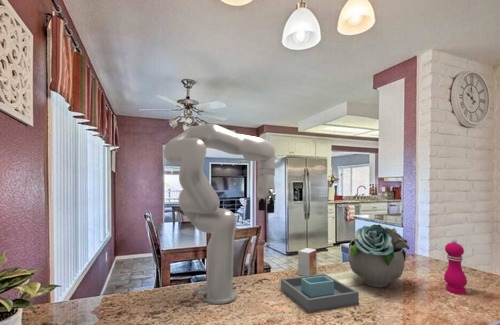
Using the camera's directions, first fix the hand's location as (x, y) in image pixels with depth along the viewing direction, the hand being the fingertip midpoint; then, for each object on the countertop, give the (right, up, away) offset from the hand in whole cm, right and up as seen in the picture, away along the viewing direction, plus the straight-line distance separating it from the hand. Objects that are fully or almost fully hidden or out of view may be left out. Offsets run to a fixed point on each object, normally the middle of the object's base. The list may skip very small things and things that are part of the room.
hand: (266, 211), depth 124 cm
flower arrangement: (+45, -29, -8) cm, 54 cm away
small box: (+19, -29, +3) cm, 35 cm away
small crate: (+18, -26, -21) cm, 38 cm away
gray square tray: (+18, -27, -22) cm, 39 cm away
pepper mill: (+73, -28, -15) cm, 80 cm away
